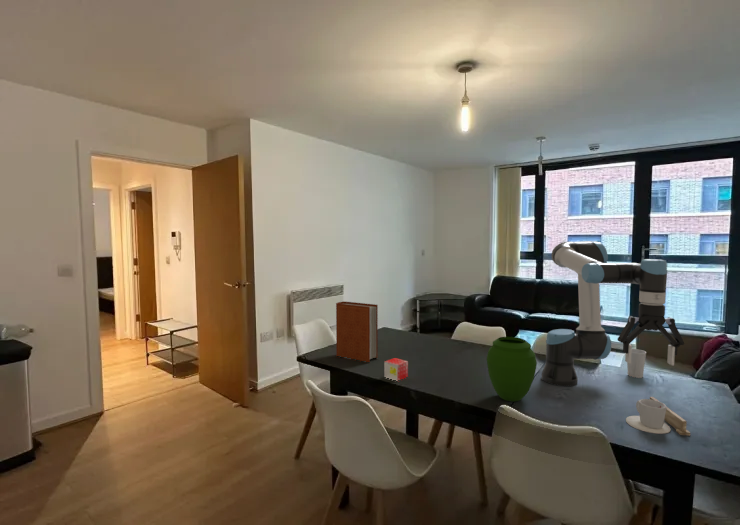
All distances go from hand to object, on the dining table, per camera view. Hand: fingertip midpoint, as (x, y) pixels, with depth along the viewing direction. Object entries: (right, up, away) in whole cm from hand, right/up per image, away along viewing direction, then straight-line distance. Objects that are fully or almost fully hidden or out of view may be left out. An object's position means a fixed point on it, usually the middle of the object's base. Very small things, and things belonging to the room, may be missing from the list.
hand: (649, 363), depth 142 cm
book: (-106, -17, +80) cm, 134 cm away
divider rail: (+9, -22, +4) cm, 24 cm away
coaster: (0, -22, 0) cm, 22 cm away
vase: (-41, -21, +24) cm, 51 cm away
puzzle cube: (-86, -19, +49) cm, 101 cm away
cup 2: (0, -22, 0) cm, 22 cm away
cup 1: (+29, -19, +51) cm, 62 cm away
